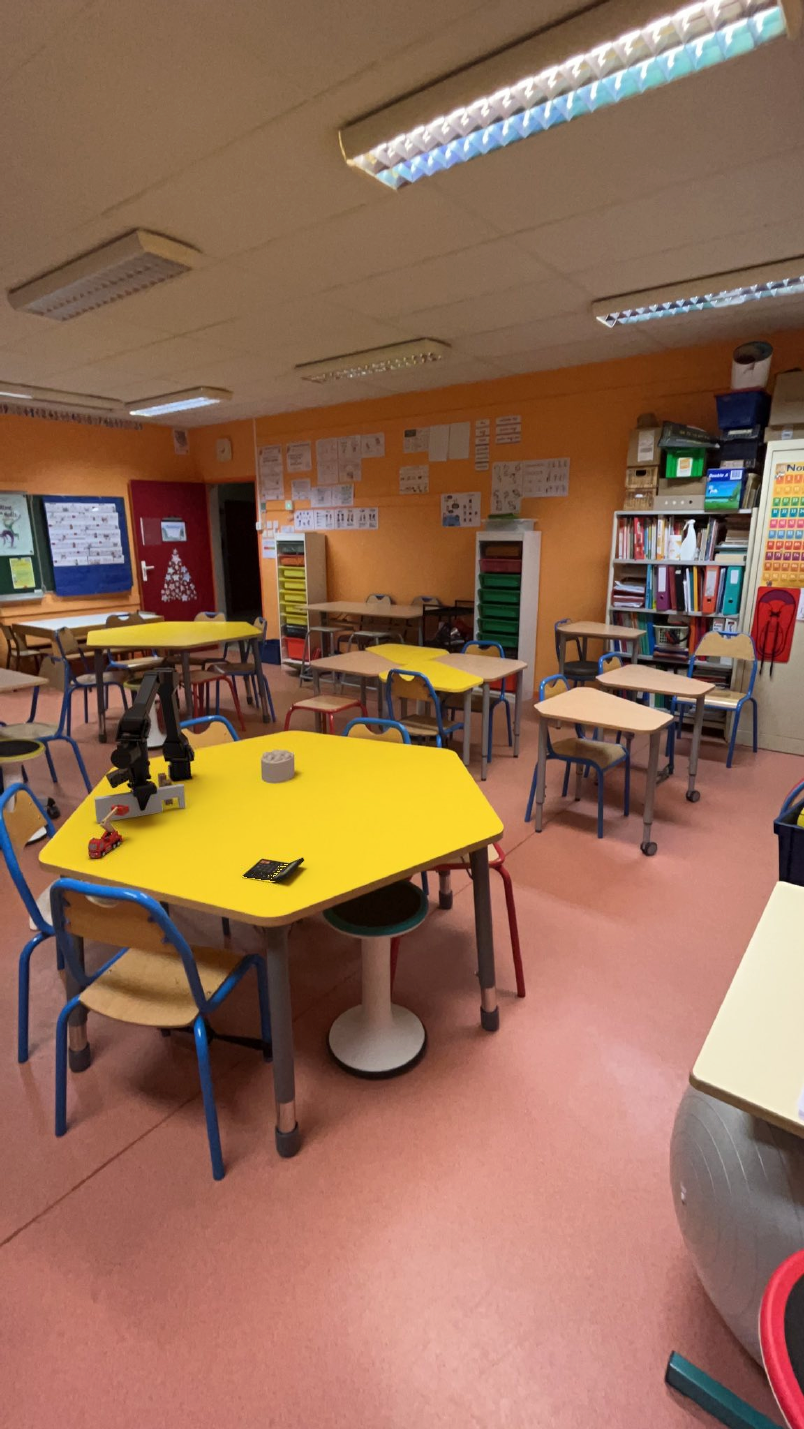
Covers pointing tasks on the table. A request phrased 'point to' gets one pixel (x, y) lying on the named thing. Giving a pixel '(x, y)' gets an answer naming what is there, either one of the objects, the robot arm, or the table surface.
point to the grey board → (127, 799)
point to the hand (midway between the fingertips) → (141, 809)
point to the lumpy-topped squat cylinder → (277, 766)
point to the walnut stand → (162, 783)
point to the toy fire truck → (107, 834)
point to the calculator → (272, 869)
